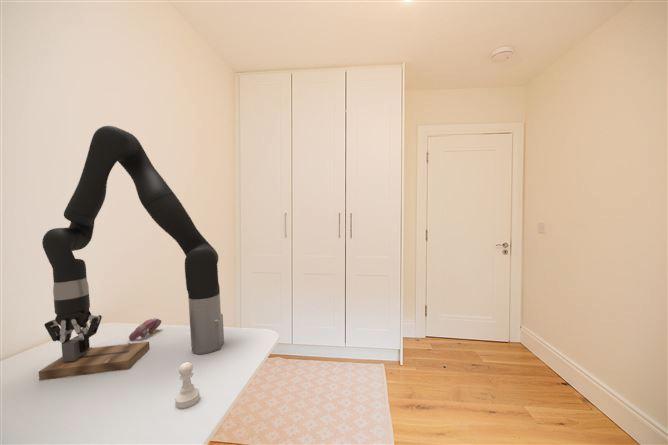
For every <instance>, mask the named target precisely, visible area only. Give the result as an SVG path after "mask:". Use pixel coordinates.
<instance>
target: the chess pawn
mask: <svg viewBox="0 0 668 445" xmlns="http://www.w3.org/2000/svg"><path fill="white" fill-rule="evenodd" d="M193 369H194V367H193V364H192V363H191V362H183V363H181V365H180V366H179V368H178V373H179V375H180V376H179V378H178V380H180V381H182V386H181V387H180V389H179V392H178V393H177V394H176V395H175V398H174V401H175V403H174V404H175V408H177V409H181V410H182V409H183V410H184V409H188V408H190V407H192V406H194V405H195V404H197V403H199V400H200V398H201V394H200V393H201V392H200V390H199V388H197V387H195V384H194V383H192V379H191V378H192V377H193V376H194V372H193Z"/></svg>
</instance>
